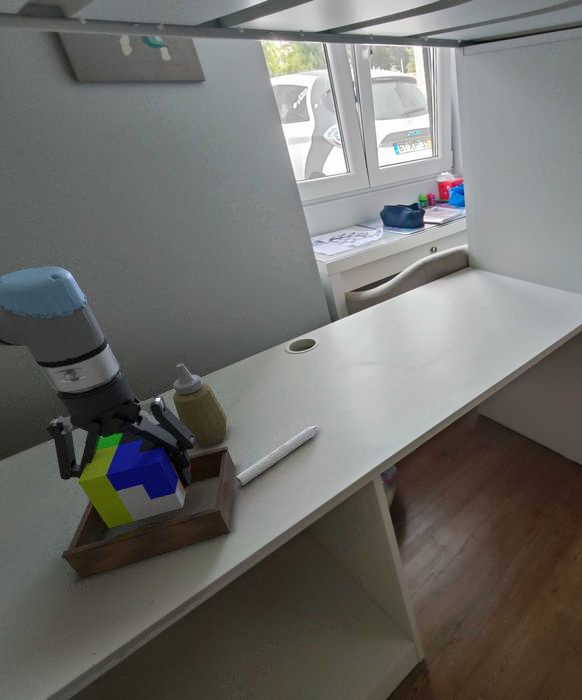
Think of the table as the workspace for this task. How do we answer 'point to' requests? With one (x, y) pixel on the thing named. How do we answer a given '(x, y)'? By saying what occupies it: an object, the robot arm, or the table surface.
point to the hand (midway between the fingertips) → (151, 491)
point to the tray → (136, 545)
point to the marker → (276, 455)
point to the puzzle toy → (131, 479)
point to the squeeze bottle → (198, 408)
